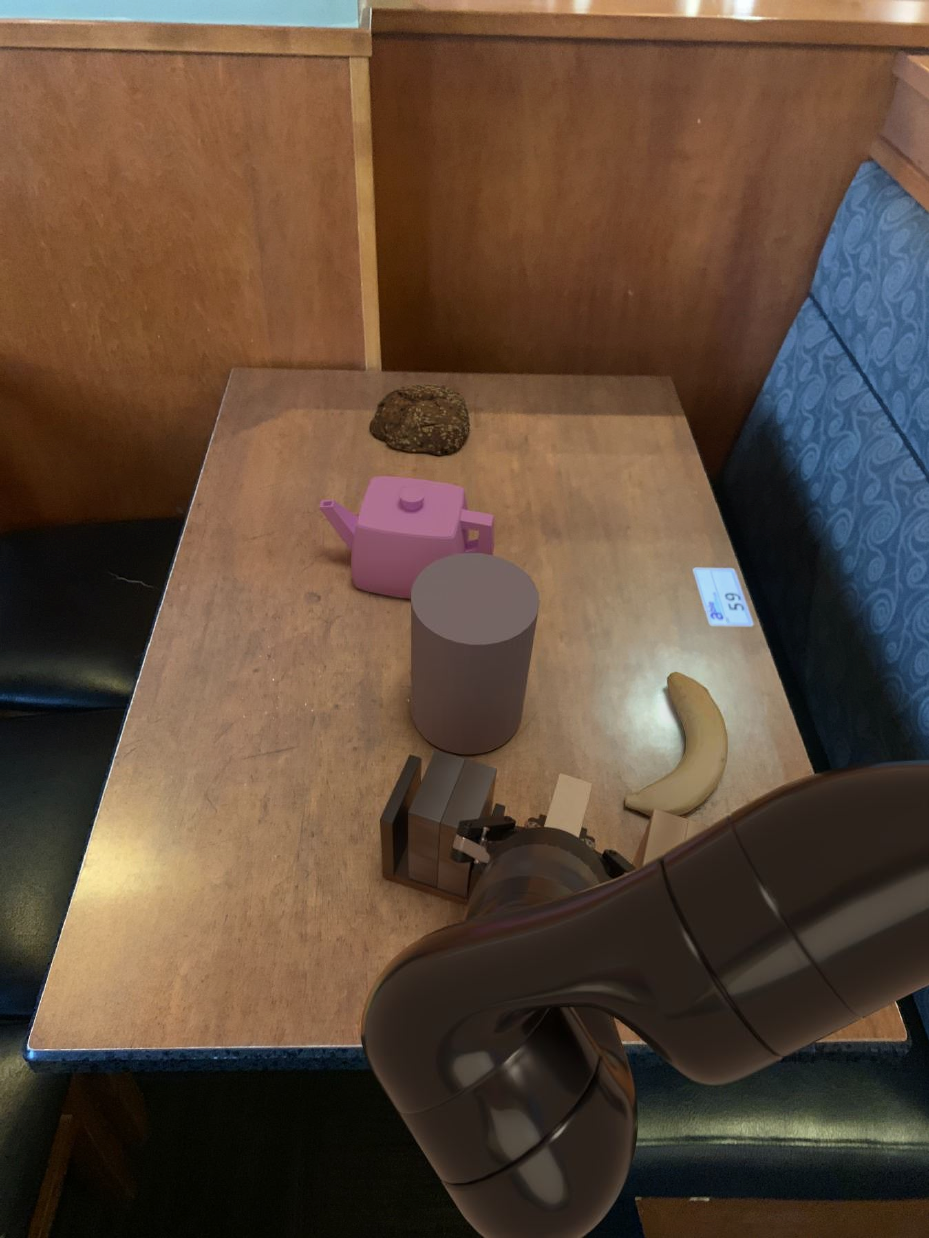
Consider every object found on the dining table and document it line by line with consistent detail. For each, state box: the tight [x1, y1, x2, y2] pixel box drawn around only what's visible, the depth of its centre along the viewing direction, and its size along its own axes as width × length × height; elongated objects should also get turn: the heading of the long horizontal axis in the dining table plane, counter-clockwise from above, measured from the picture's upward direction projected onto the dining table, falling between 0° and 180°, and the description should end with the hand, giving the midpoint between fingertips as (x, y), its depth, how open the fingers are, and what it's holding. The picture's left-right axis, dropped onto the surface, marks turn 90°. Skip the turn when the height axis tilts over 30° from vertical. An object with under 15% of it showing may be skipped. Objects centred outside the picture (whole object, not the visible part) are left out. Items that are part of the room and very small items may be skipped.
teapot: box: [318, 475, 495, 600], centre depth 88 cm, size 18×10×10 cm, turn 82°
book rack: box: [379, 749, 710, 907], centre depth 62 cm, size 24×6×12 cm, turn 71°
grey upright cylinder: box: [410, 553, 541, 755], centre depth 73 cm, size 10×10×15 cm
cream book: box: [544, 773, 594, 838], centre depth 61 cm, size 2×6×11 cm, turn 162°
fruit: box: [624, 671, 729, 818], centre depth 75 cm, size 7×15×3 cm, turn 156°
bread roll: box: [368, 383, 471, 456], centre depth 107 cm, size 13×12×5 cm
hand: (559, 833), depth 63 cm, fingers closed on cream book, 2 cm apart
